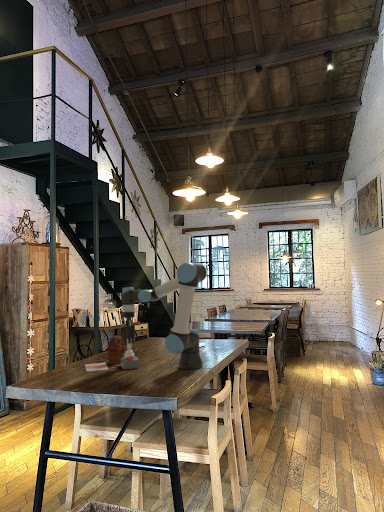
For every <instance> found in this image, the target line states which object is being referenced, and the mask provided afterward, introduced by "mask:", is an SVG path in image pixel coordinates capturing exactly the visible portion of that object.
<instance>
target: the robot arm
mask: <svg viewBox="0 0 384 512" xmlns="http://www.w3.org/2000/svg"><path fill="white" fill-rule="evenodd" d="M207 272H208V271H207V268H206V266H205V265H203V264H202V263H199V262H197V263H196V262H188V261H187V262H185V263H182V264H180V265H179V266H178V268H177V270H176V277H175V278H172V279H170V280H169V281H166V282H164V283H162V284H160V285H157V286H156V287H154V288H152V289H137V290H136V289H135V288H134V287H133V286H132V287H131V286H130V287H122V291H121V292H122V293H121V295H122V297H121V298H122V306H121V308H122V318H123V319H125V320H124V321H125V334H126V335H125V337H126V349H127V350H128V349H131V350H132V348H133V346H132V344H133V343H132V338H133V320H132V318H135V303H146V302H156V301H159V300H160V299H161V298H163V297H165V296H167V295H170V294H172V293H174V292H176V291H178V292H179V294H178V299H177V306H176V311H175V317H174V322H173V327H172V328H170V329H169V330H170V331H169V335H167V336H166V338H165V340H164V345H165V349H166V350H167V351H168V352H169V353H170V354H173V355H179V354H180V357H179V360H178V363H177V364H178V365H177V368H179V369H182V370H196V369H200V368H203V366H204V365H203V360H202V357H201V354H200V332H199V330H198V329H191V328H190V329H189V325H190V318H191V314H192V313H191V312H192V307H193V301H194V296H195V290H196V289H197V288H199V283H201V282H204V280H205V279H206V277H207V275H208V273H207Z"/></svg>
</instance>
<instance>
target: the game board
mask: <svg viewBox="0 0 384 512" xmlns="http://www.w3.org/2000/svg"><path fill="white" fill-rule="evenodd" d="M84 365H85V370H86V371H85V372H94V371H96V372H97V371H105V370H109V368H108V366H107V364H106V362H99V363H98V362H97V363H96V362H95V363H87V364H84Z"/></svg>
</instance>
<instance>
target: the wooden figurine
mask: <svg viewBox="0 0 384 512" xmlns="http://www.w3.org/2000/svg"><path fill="white" fill-rule="evenodd" d="M107 349H108V354H107V356H108V357H107V359H108V364H109V365H120V364H121V358H124V354H125V352H126V350H125V349H126V348H125V342H124V339H123V338H122V337H121V336H120V335H114V336H111V337H110V340H109V341H108V343H107Z"/></svg>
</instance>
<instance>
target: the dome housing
mask: <svg viewBox="0 0 384 512" xmlns="http://www.w3.org/2000/svg"><path fill="white" fill-rule="evenodd" d="M120 367H121V369H122V370H130V369H132V370H133V369H139V368H140V358H138V357H137V356H134V358H133V356H128V359H124V358H121V363H120Z"/></svg>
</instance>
